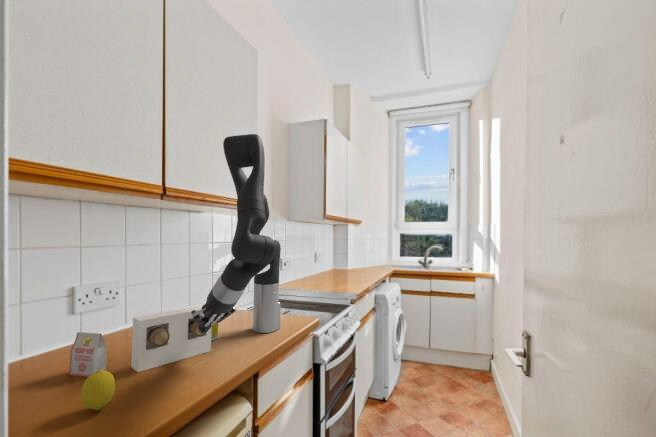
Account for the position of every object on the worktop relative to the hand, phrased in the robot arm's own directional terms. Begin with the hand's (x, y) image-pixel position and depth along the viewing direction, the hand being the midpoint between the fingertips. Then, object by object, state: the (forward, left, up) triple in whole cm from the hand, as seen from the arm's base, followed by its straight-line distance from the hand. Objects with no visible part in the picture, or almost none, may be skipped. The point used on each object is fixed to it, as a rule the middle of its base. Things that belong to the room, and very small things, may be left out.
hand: (202, 330), depth 91 cm
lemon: (+27, +10, -8) cm, 30 cm away
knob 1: (+11, -4, -2) cm, 12 cm away
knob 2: (0, -4, -2) cm, 4 cm away
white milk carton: (+24, -12, -8) cm, 28 cm away
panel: (+6, -6, -8) cm, 11 cm away
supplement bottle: (-10, -14, -8) cm, 19 cm away
